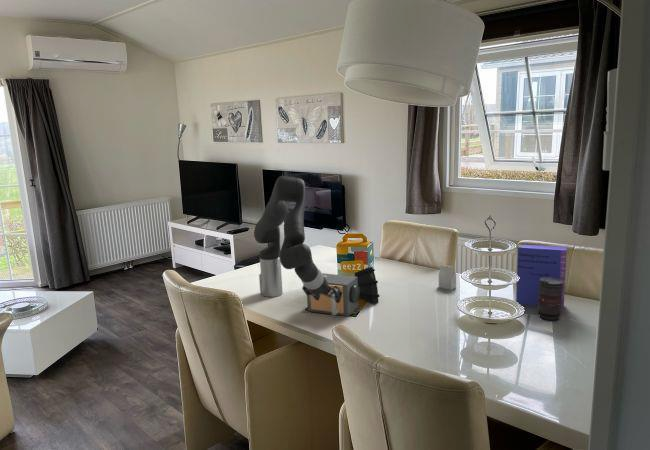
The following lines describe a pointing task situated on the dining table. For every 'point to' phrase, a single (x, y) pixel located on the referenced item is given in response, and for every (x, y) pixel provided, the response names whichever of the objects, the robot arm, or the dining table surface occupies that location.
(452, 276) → the light grey rectangular block
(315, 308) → the side door
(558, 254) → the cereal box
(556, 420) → the dining table surface
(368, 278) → the black ridged panel
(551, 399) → the dining table surface
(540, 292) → the camera lens
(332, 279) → the grey hinged door box
